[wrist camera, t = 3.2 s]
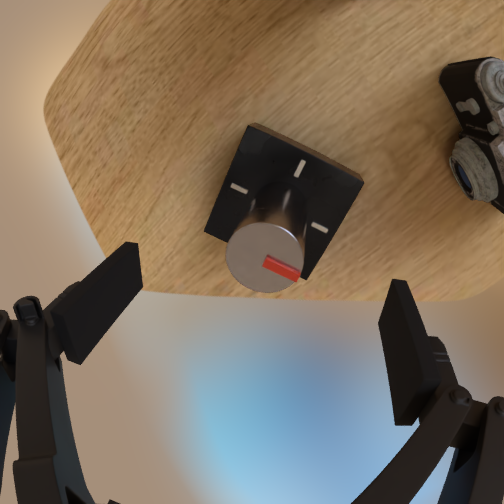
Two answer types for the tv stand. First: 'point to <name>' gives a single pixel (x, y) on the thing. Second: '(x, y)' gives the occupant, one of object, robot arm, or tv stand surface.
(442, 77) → the camera
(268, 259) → the dial
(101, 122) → the tv stand surface
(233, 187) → the dial panel
